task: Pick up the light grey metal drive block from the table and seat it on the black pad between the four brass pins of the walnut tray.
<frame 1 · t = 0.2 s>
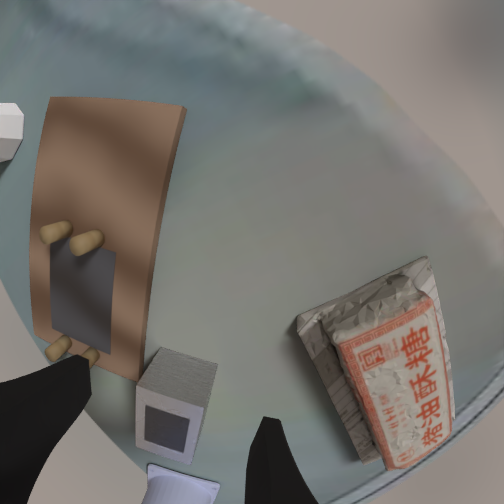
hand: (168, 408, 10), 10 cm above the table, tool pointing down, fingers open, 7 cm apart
salt shaker: (9, 133, 18), on the table
packaged product: (390, 375, 21), on the table
drive block: (183, 388, 22), on the table
walnut tray: (88, 240, 20), on the table
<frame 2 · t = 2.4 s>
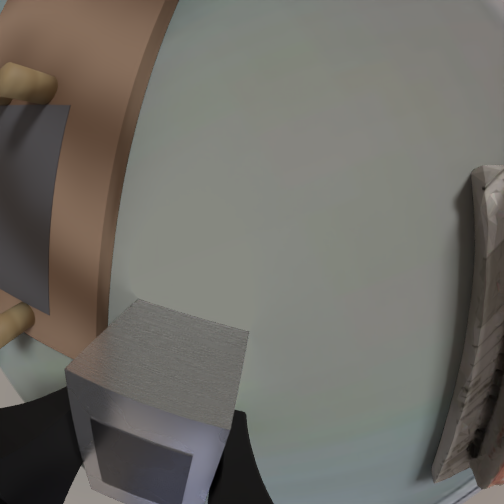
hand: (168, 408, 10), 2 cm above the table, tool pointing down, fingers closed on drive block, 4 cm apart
drive block: (179, 384, 12), on the table, touching gripper
walnut tray: (36, 112, 10), on the table
when the fingers open (4 cm above the table, at t = 6.4 s): drive block stays where it is, resting on walnut tray.
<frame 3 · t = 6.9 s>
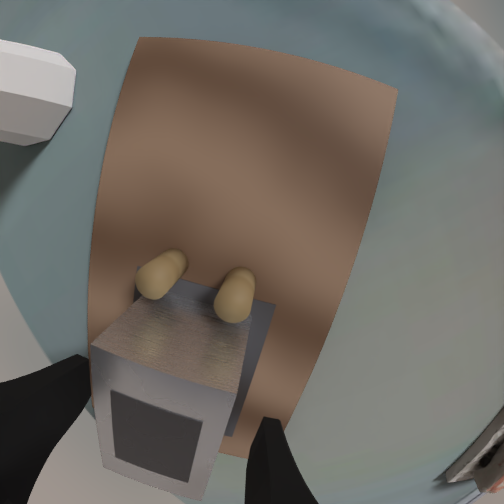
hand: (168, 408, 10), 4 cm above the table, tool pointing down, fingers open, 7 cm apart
salt shaker: (44, 99, 12), on the table
drive block: (187, 366, 13), point 1 cm above the table, touching walnut tray
walnut tray: (208, 281, 13), on the table
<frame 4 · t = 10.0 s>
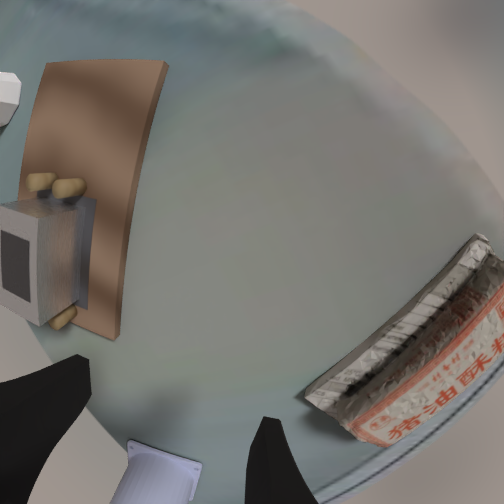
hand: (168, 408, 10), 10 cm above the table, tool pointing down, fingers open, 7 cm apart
salt shaker: (6, 101, 18), on the table
packaged product: (422, 347, 21), on the table
drive block: (59, 248, 19), point 1 cm above the table, touching walnut tray
walnut tray: (72, 193, 19), on the table
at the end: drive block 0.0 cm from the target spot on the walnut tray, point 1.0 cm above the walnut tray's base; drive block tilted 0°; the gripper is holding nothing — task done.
